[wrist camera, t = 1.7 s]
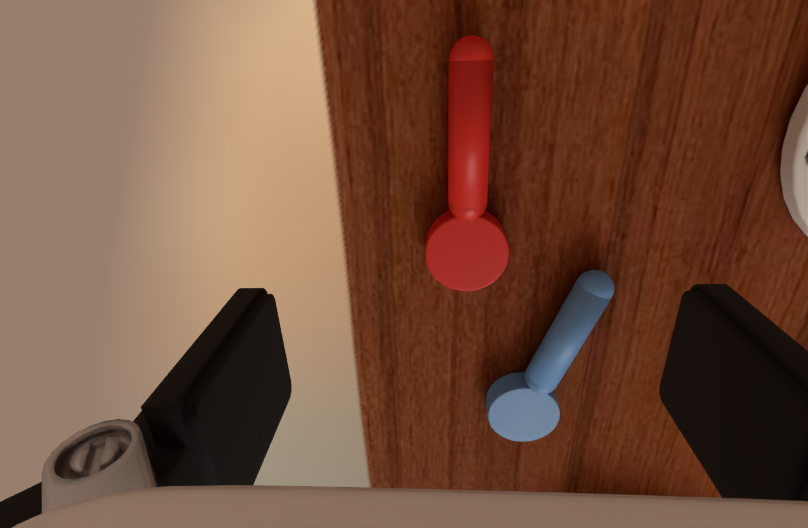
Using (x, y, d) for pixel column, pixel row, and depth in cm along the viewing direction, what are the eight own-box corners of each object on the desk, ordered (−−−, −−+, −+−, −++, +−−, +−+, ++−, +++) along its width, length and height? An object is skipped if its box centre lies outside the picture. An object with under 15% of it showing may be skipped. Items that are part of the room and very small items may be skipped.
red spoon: (422, 37, 19) (420, 36, 17) (519, 33, 19) (526, 32, 17) (426, 278, 24) (425, 295, 22) (503, 278, 24) (508, 296, 22)
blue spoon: (560, 252, 23) (569, 268, 21) (634, 276, 23) (648, 294, 21) (475, 412, 28) (477, 435, 26) (536, 431, 28) (542, 454, 26)
